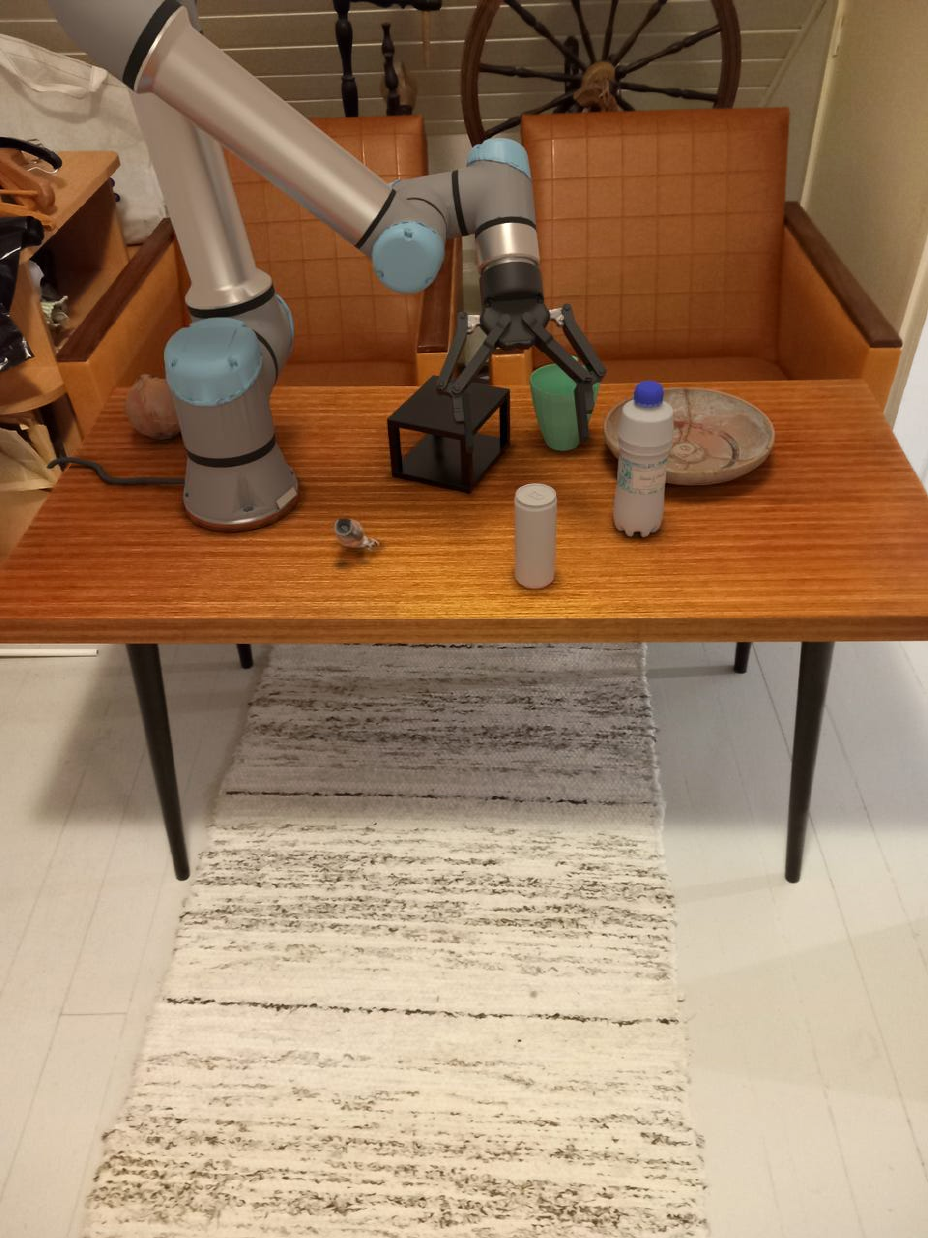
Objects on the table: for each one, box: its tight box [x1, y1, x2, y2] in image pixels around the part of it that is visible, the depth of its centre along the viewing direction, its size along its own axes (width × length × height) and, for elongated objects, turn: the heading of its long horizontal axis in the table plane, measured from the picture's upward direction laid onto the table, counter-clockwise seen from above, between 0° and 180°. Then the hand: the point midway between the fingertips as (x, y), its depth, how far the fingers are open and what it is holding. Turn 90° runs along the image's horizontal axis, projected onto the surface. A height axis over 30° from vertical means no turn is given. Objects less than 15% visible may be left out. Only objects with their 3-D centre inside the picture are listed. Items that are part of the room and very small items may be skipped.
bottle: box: [612, 380, 674, 538], centre depth 120 cm, size 7×7×20 cm
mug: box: [529, 355, 601, 452], centre depth 142 cm, size 15×10×10 cm
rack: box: [386, 374, 511, 495], centre depth 137 cm, size 12×14×9 cm
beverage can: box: [513, 482, 558, 590], centre depth 115 cm, size 5×5×12 cm
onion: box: [124, 373, 181, 441], centre depth 146 cm, size 10×9×10 cm
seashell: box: [333, 517, 380, 551], centre depth 122 cm, size 5×5×6 cm
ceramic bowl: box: [602, 386, 776, 486], centre depth 137 cm, size 23×24×5 cm
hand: (527, 445), depth 116 cm, fingers open, 13 cm apart
